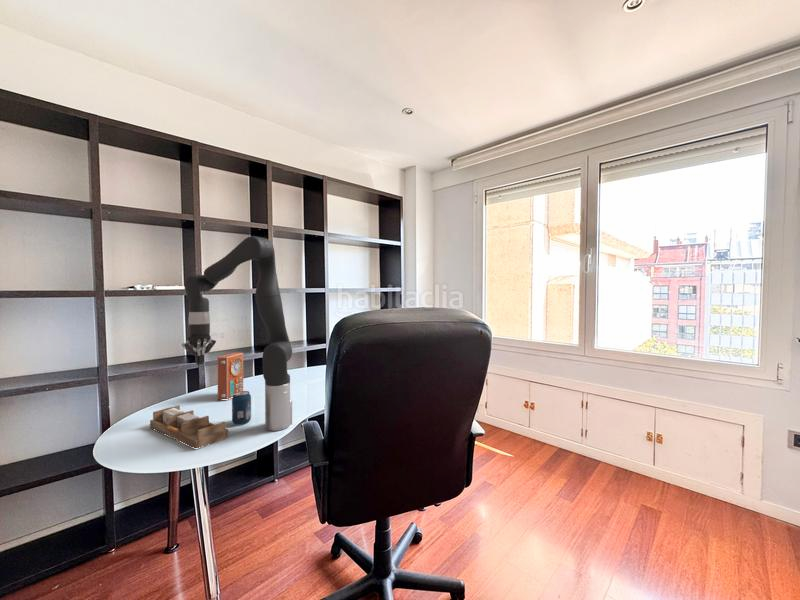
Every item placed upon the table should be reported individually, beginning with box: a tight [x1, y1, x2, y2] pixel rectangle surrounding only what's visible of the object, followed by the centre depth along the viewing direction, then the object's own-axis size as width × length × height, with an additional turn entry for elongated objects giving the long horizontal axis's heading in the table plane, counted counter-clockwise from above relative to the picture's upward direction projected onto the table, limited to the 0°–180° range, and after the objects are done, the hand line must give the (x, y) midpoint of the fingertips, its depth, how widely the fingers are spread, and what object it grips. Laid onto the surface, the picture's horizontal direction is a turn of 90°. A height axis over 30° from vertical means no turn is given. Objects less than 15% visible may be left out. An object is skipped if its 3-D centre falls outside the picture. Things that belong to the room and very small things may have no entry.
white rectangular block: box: [177, 413, 200, 431], centre depth 121 cm, size 4×8×5 cm, turn 58°
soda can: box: [231, 390, 252, 426], centre depth 131 cm, size 7×7×12 cm
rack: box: [149, 405, 229, 448], centre depth 121 cm, size 11×34×6 cm, turn 59°
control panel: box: [217, 352, 244, 400], centre depth 164 cm, size 21×7×15 cm
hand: (199, 364), depth 134 cm, fingers closed
